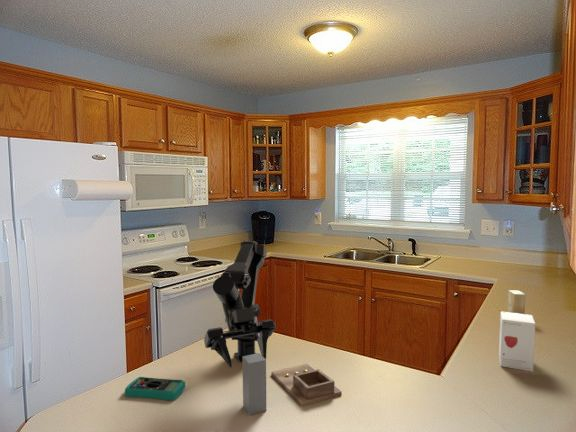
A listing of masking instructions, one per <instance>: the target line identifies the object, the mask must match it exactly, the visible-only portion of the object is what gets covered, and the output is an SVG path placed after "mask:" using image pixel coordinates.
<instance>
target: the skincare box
mask: <svg viewBox="0 0 576 432" xmlns="http://www.w3.org/2000/svg"><path fill="white" fill-rule="evenodd" d="M526 297H527V295H526V294H525V293H524V292H522V291H521V290H518V289H517V290H516V289H513V290H511V289H508V296H507V298H508V299H507V312H510V313H519V314H526V313H525V312H526Z"/></svg>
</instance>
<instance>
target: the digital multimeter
mask: <svg viewBox="0 0 576 432" xmlns="http://www.w3.org/2000/svg"><path fill="white" fill-rule="evenodd" d="M185 389H186V381H185V380H183V379H172V378H171V379H169V378H157V377H156V378H155V377H146V376H145V377H144V376H139V377H136V378H135V379H134V380H132V381H131V382H130V383H129V384H127V386H126V388H125V389H124V395H125V397H127V398H140V399H141V398H143V399H145V398H146V399H152V400H153V399H155V400H162V401H175V400H176V399H177V398H178V397H179V396H180V395H182V393H183V392H184V390H185Z"/></svg>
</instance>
